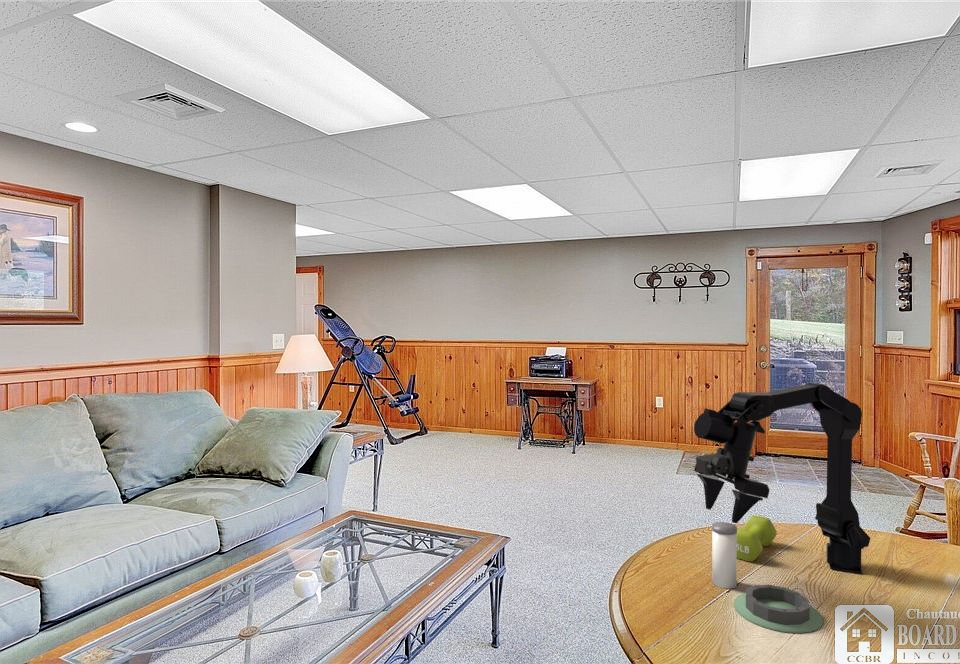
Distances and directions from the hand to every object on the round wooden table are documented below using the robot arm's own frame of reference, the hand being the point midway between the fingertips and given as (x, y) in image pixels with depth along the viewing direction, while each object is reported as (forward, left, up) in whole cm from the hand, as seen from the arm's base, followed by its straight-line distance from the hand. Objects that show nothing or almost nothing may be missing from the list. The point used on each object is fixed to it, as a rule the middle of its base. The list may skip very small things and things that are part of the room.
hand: (720, 515), depth 132 cm
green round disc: (-11, +9, -15) cm, 21 cm away
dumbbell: (-6, -23, -16) cm, 28 cm away
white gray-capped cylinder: (-1, 0, -15) cm, 15 cm away
